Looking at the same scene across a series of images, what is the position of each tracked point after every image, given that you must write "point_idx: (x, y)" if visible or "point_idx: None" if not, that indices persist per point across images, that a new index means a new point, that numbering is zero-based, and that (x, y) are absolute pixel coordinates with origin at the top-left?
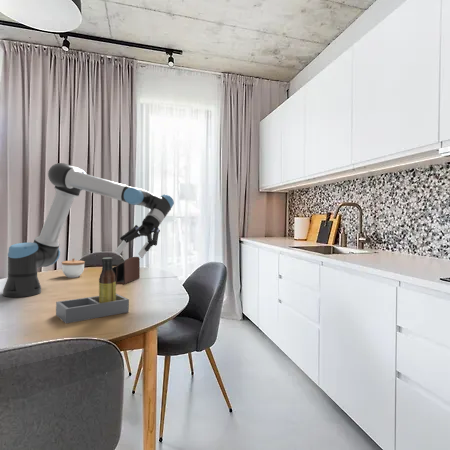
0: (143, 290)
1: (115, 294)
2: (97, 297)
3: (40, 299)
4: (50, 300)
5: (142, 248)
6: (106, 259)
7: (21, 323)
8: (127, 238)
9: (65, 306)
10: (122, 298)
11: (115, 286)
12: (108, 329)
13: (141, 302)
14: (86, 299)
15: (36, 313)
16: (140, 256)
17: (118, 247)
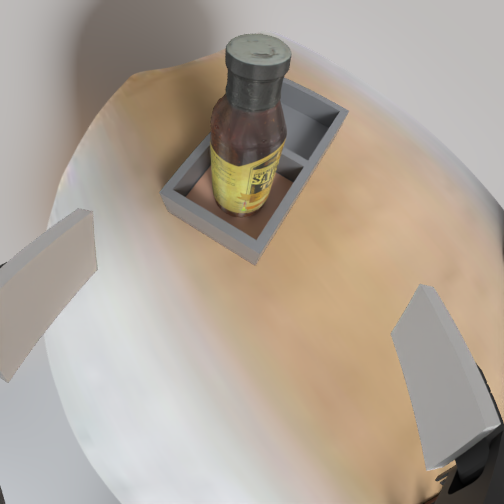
0: (288, 498)
1: (212, 176)
2: (291, 186)
3: (475, 240)
4: (455, 241)
5: (37, 246)
6: (244, 36)
7: (345, 85)
8: (478, 490)
9: (290, 84)
10: (193, 202)
11: (211, 158)
12: (154, 96)
13: (187, 340)
14: (308, 160)
15: (384, 136)
16: (91, 250)
17: (442, 317)
